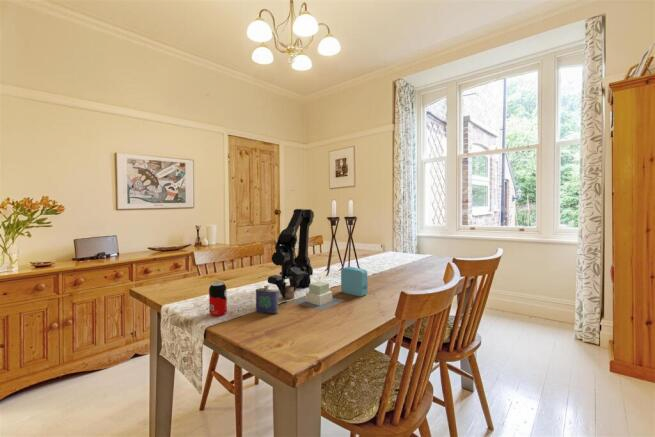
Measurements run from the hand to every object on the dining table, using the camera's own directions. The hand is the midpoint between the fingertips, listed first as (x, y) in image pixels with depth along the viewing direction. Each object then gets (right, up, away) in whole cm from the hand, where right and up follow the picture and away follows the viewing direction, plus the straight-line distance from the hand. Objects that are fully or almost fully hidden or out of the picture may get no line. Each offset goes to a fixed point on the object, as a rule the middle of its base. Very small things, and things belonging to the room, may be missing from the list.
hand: (288, 295), depth 136 cm
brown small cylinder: (0, -1, 0) cm, 1 cm away
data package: (+30, -1, +6) cm, 31 cm away
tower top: (+14, +3, -5) cm, 15 cm away
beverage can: (-25, -3, -19) cm, 31 cm away
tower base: (+14, -1, -5) cm, 15 cm away
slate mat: (+14, -2, -5) cm, 15 cm away
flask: (-6, -3, -17) cm, 18 cm away
